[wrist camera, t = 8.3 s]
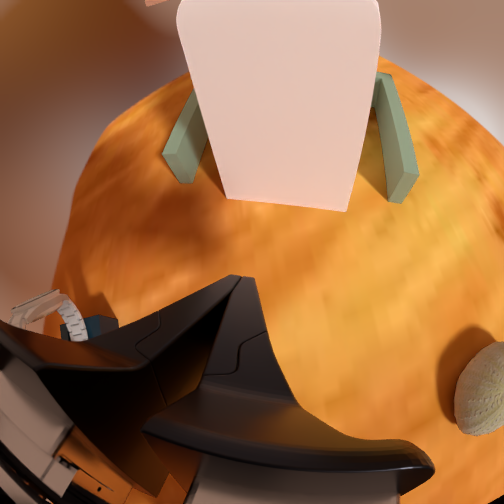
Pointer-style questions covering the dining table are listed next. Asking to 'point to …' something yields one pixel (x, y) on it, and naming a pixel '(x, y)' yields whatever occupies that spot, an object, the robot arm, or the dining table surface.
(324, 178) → the milk
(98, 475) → the robot arm
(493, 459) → the dining table surface
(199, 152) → the corral
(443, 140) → the dining table surface
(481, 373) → the sea urchin shell
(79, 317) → the watch
